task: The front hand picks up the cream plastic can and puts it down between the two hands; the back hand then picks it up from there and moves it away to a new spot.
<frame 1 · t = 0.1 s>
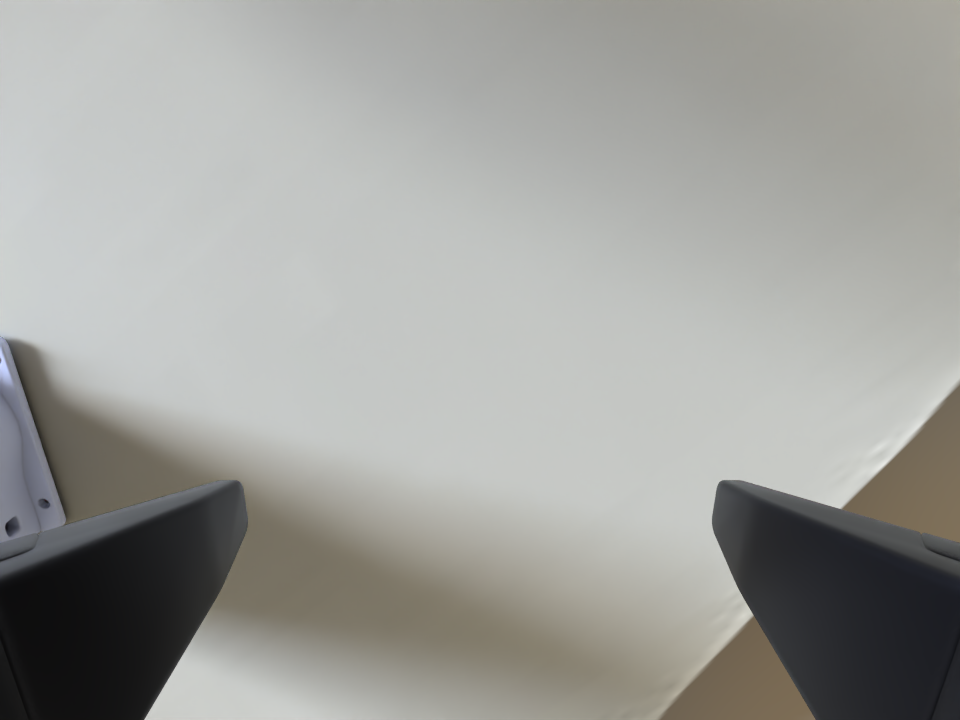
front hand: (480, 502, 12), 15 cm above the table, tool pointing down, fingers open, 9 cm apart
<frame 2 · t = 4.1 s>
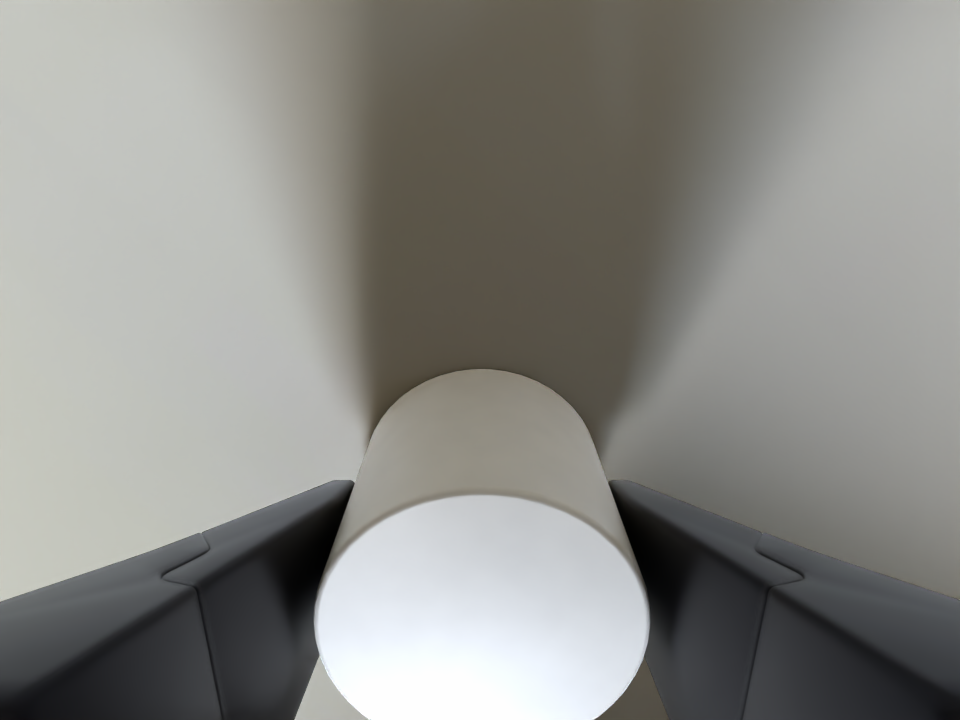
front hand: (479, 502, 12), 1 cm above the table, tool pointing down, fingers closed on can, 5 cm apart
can: (481, 474, 13), on the table, touching front hand
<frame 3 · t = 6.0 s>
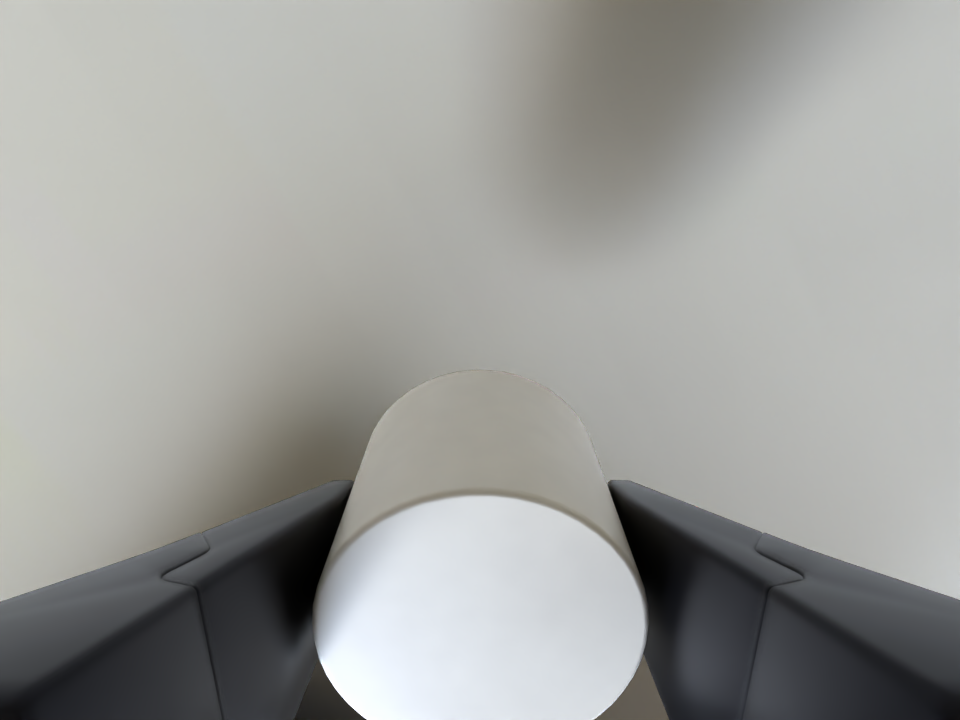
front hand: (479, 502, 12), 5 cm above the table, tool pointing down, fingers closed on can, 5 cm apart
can: (480, 475, 13), point 4 cm above the table, touching front hand
when the front hand's fingers open (2 cm above the table, at t = 8.1 s): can stays where it is, on the table.
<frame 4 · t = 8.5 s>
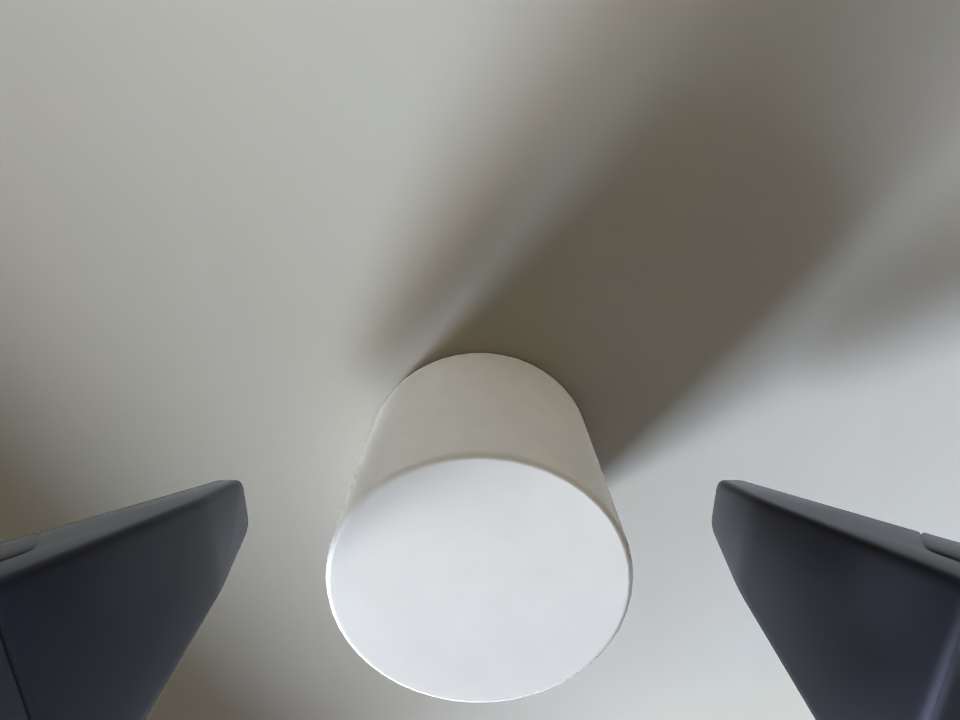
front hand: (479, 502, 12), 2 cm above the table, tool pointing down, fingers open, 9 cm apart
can: (479, 453, 13), on the table
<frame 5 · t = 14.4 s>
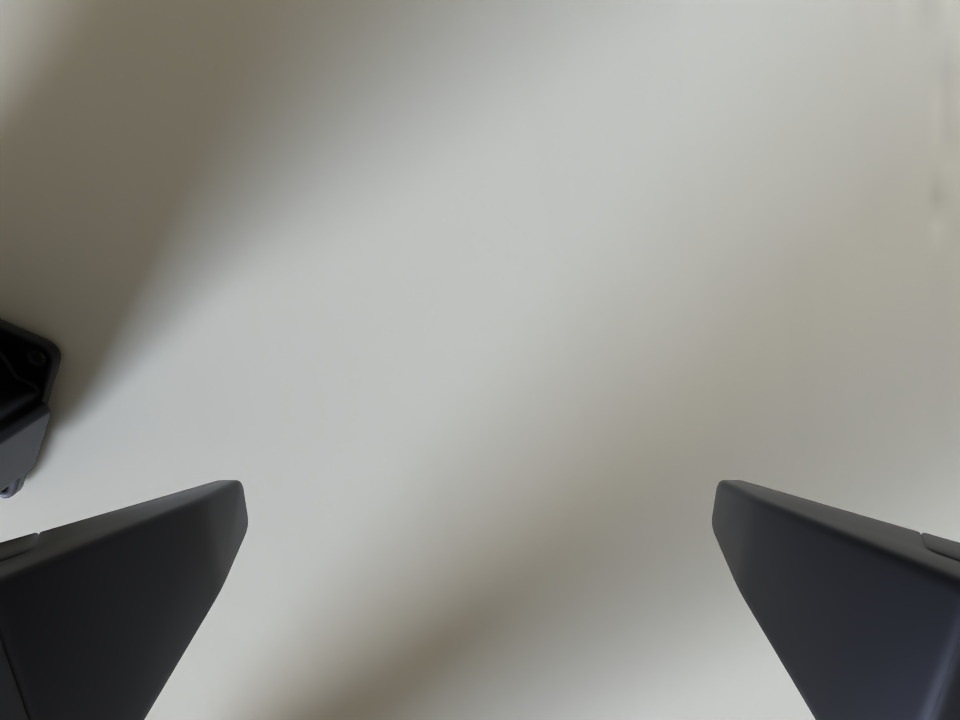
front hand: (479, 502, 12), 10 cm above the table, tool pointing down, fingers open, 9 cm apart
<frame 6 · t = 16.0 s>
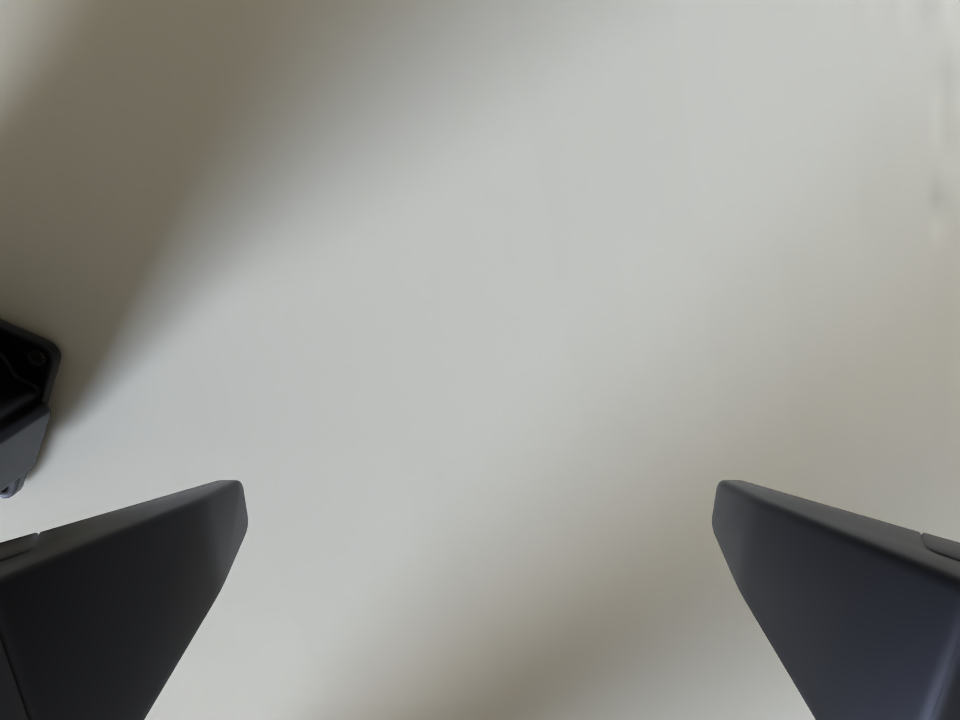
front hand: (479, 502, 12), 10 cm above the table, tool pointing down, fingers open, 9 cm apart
when the back hand's fingers open (2 cm above the table, at t = 17.9 s): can stays where it is, on the table.
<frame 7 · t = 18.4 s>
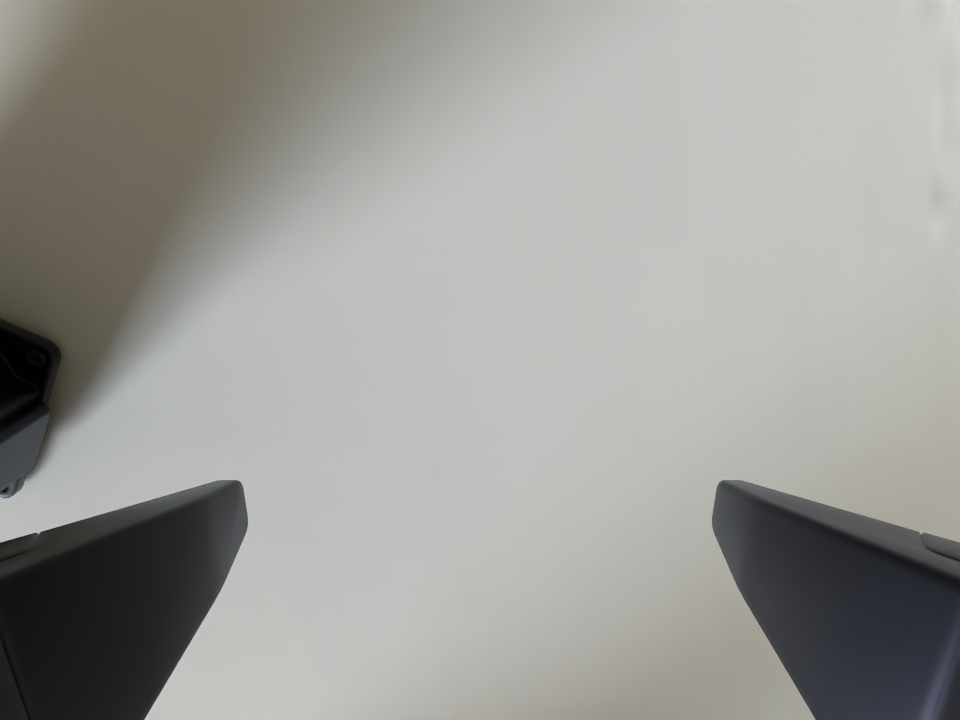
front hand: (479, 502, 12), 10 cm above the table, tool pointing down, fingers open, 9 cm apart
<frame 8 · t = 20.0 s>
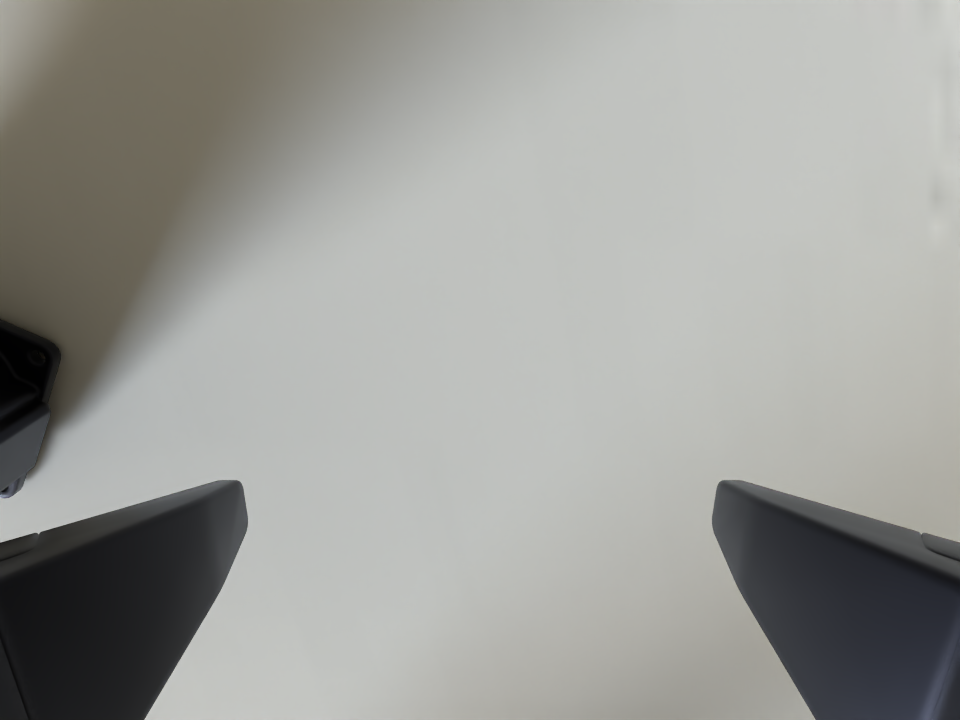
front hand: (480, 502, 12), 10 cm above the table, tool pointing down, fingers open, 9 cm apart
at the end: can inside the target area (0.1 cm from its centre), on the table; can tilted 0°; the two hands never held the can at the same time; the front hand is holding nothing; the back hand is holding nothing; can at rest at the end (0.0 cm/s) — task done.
